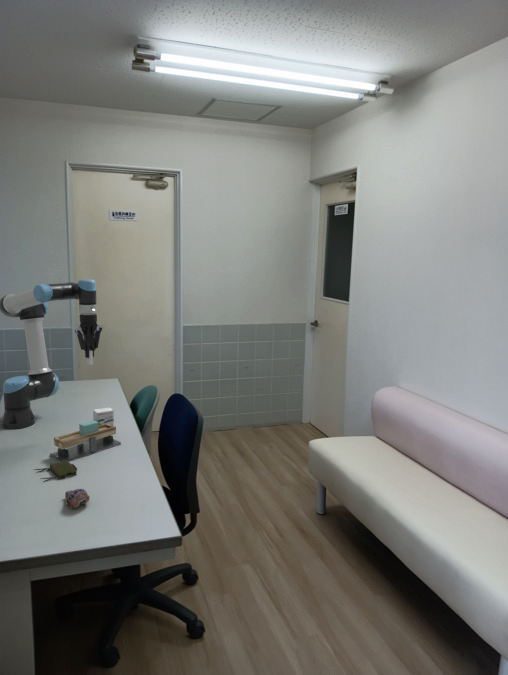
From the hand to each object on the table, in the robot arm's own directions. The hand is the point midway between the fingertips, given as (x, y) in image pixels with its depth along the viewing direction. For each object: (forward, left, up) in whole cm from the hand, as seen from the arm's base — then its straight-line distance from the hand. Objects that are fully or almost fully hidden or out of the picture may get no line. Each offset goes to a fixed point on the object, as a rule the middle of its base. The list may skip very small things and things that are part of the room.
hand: (90, 364), depth 233 cm
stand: (+14, -12, -34) cm, 39 cm away
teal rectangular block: (+14, -10, -27) cm, 33 cm away
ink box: (+2, +5, -35) cm, 35 cm away
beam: (+14, -12, -28) cm, 34 cm away
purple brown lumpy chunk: (+53, -40, -35) cm, 75 cm away
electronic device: (+26, -33, -35) cm, 54 cm away
